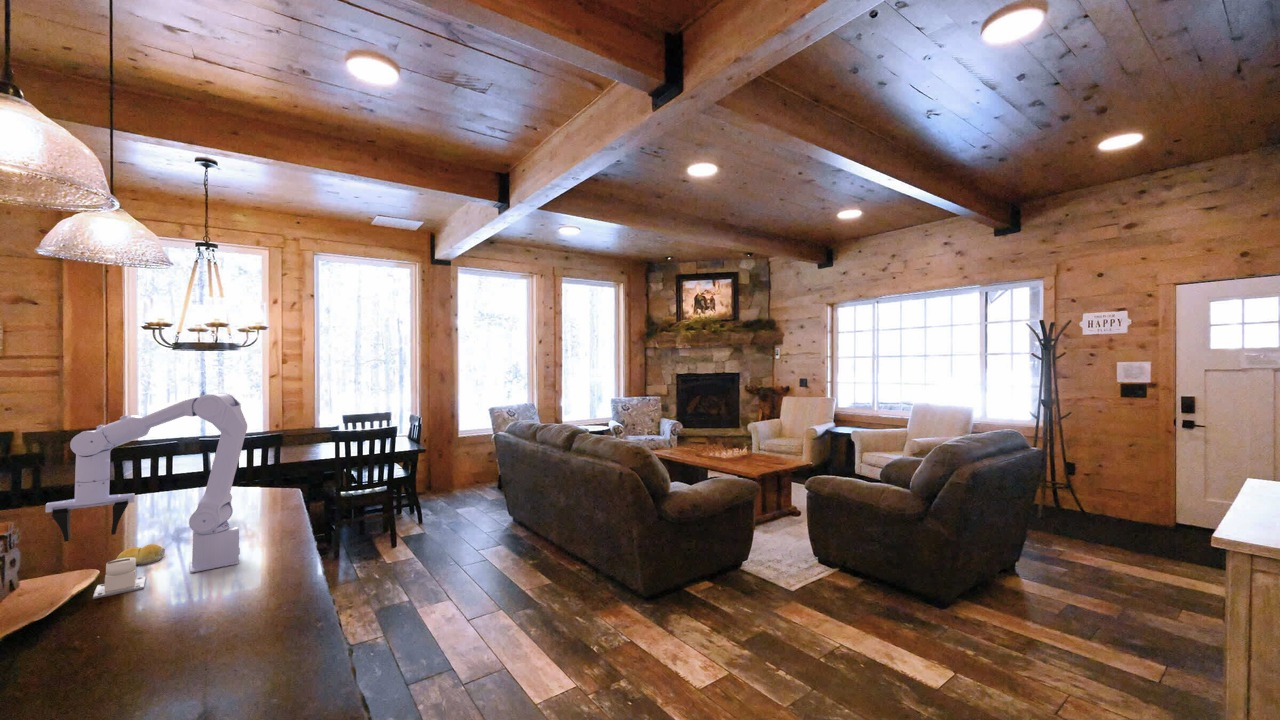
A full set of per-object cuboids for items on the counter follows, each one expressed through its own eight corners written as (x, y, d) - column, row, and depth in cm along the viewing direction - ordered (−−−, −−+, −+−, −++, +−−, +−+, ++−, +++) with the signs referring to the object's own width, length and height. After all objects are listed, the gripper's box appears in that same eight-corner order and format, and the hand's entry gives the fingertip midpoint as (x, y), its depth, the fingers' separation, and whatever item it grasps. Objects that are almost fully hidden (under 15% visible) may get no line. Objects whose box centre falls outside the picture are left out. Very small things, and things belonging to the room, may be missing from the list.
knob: (135, 579, 121) (136, 554, 121) (134, 586, 117) (135, 560, 117) (106, 585, 118) (107, 559, 118) (104, 592, 114) (105, 565, 114)
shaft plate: (145, 578, 123) (146, 564, 123) (143, 588, 117) (144, 574, 117) (97, 587, 118) (97, 573, 118) (92, 599, 112) (93, 583, 112)
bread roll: (122, 560, 135) (122, 544, 135) (167, 553, 140) (167, 539, 140) (110, 570, 128) (110, 554, 128) (158, 563, 133) (158, 548, 133)
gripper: (136, 473, 131) (134, 527, 131) (50, 481, 121) (48, 539, 121) (134, 478, 126) (132, 533, 125) (44, 486, 116) (42, 546, 116)
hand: (90, 536), depth 123 cm, fingers open, 7 cm apart
